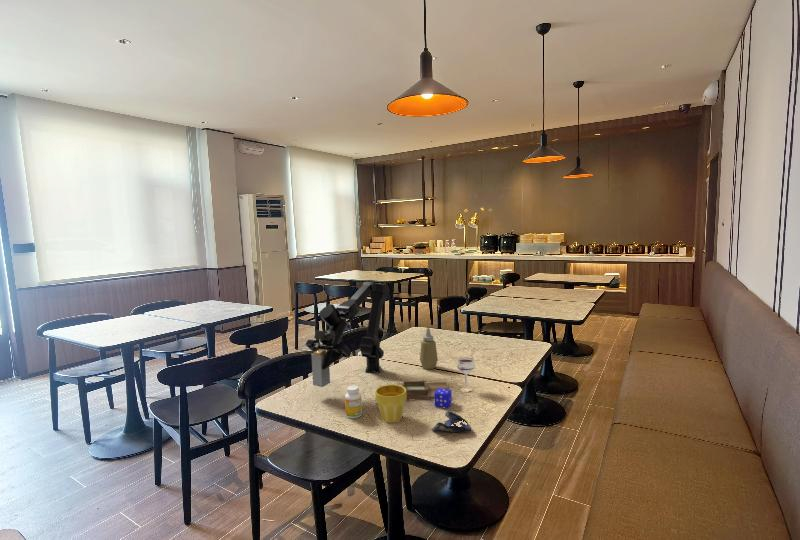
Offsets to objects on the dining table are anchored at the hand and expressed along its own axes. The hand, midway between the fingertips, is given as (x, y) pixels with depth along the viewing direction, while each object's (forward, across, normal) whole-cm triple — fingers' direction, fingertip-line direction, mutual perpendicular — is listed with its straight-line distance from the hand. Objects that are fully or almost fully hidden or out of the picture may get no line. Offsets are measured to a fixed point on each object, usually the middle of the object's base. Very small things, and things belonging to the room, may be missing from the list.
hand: (318, 368), depth 157 cm
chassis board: (-8, +31, +25) cm, 41 cm away
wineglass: (-14, +46, +31) cm, 57 cm away
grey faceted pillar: (+4, 0, +6) cm, 7 cm away
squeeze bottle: (-26, +21, +43) cm, 55 cm away
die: (-3, +44, +20) cm, 48 cm away
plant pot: (+10, +33, +7) cm, 35 cm away
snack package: (+8, +54, +9) cm, 55 cm away
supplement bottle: (+12, +20, +4) cm, 24 cm away
